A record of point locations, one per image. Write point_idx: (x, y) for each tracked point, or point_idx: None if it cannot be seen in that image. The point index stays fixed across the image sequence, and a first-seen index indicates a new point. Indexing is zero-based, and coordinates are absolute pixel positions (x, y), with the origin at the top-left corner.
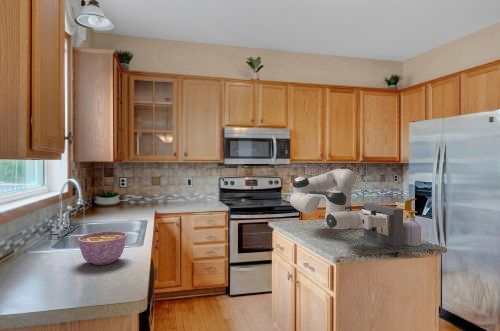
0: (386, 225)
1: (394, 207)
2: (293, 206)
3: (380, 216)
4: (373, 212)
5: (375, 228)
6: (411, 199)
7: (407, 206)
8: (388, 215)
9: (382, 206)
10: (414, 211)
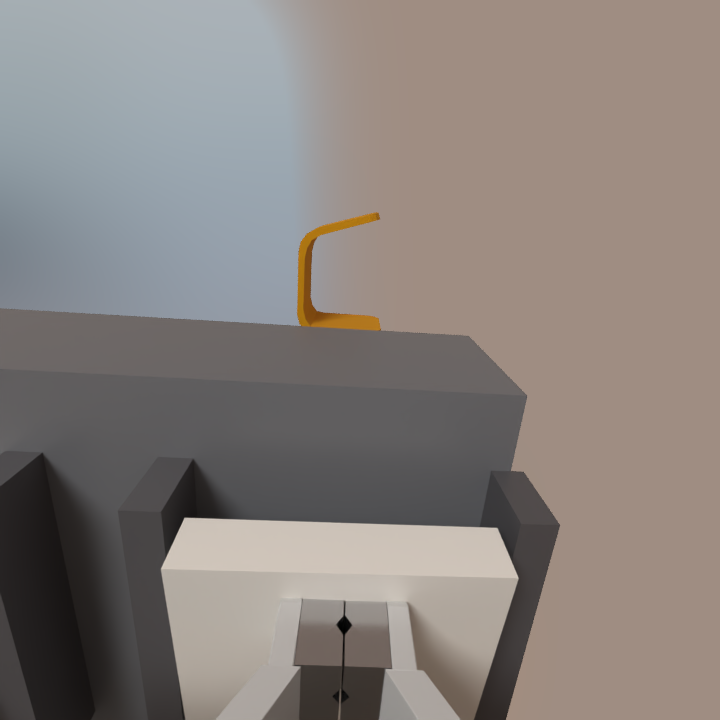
0: (462, 703)
1: (321, 328)
2: None
3: (390, 649)
4: (14, 511)
5: (89, 687)
6: (378, 219)
7: (306, 286)
8: (493, 532)
9: (159, 347)
10: (365, 320)
